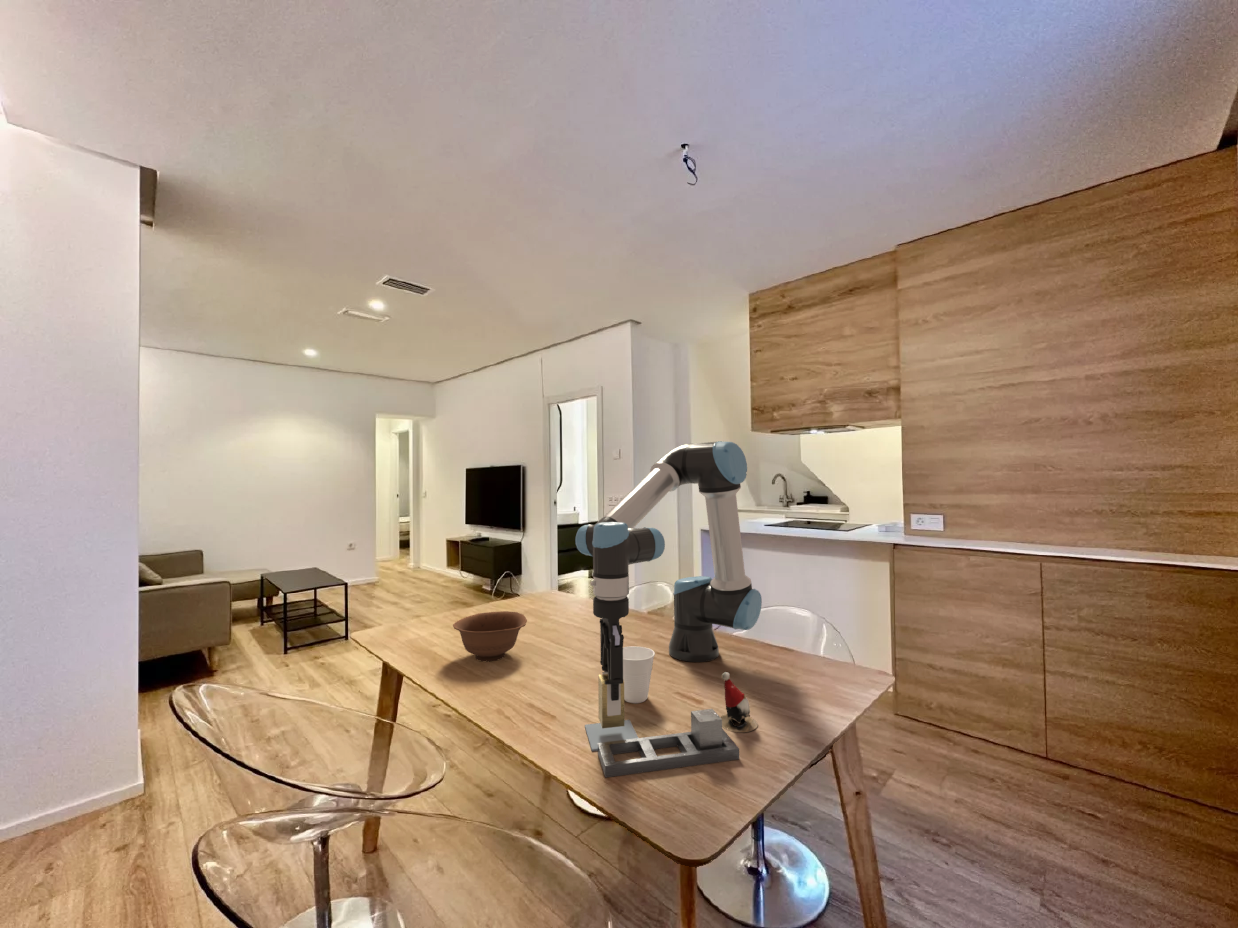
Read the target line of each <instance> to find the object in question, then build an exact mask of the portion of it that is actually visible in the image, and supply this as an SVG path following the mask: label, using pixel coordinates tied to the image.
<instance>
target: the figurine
mask: <svg viewBox="0 0 1238 928" xmlns="http://www.w3.org/2000/svg"><path fill="white" fill-rule="evenodd" d="M721 679H722V680H723V681H724V682H723V683H724V684H723V686H724V701H725V703H724V704H725V710H726V714H722V715H721V716H719V717H720V718H721V719H722V729H723V730H724V729H725V730H727V731H730V732H733V733H740V734H741V733H749V732H752V731H755V730H756V729H757V728H758V725H759V724H758V721H757V720H756V719H755V718H753V717H751V715H750V714H751V710H750V702H749V699H748V698H747V696H746V695H745V693H743V692H742V691H741V690H740V689H739V688H738V687H737V686H736V685H735V684H734V682H733V681H732V680H731V677H730V673H729V672H726V671H725V672H723V673H722V674H721ZM733 720H734V721H736V722H737V723H738V724H740V723H741V721H742V720H743V721H744V723H743V724H740V725H736V724H735V723H734V722H733Z"/></svg>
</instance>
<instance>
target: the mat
mask: <svg viewBox="0 0 1238 928" xmlns="http://www.w3.org/2000/svg"><path fill="white" fill-rule="evenodd" d="M584 729H585V733H586V737H587V739H588V744H589V746H590V749H591V752H598V743H602V742H610V741H619V740H627V739H635V738H639V736H638V734H637V732H636V730H635V728H634V726H633V724H632V722H631V720H630V719H624V726H620V727H611V728H602V726H601V723H600V722H598V723H597V722H596V723H588V724H587V723H586V724H584Z"/></svg>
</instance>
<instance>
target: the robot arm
mask: <svg viewBox="0 0 1238 928" xmlns="http://www.w3.org/2000/svg"><path fill="white" fill-rule="evenodd" d="M747 472H748V464H747V459H746V456H745V454H744V451H743V449H742V448H741V447H740V446H739V444H737V443H735V442H733V441H710V442H709V441H708V442H698V443H697V442H696V443H685V444H683V445H682V444H681V445H680V446H677V447H675V448H674V449H672V450H670V451H668V452H667V453H666V454H664V455H662V457H660V458H659V459H658V460H657V461H656V462H654V464H652V465H651V466H650V469H649V473H648V474H647V475H646V476H645V477H643V479H641V481H639V483H637V484H636V485H635V486H634V487H633V488H632V489H631V490H630V491H629V492H628V493H627V494H626V495H625V496H623V497H622V498H621V500H619V502H617V503H616V504H615V505H614V506H613V507H612V508H611V509H610V510H609V511H608V512H607V513H606V514H605V515H603V517H602V518H601V519H599V520H598V521H597V522H596V523H595V524H592V523H591V524H584V525H582V526H581V527H579V528H578V529H577V532H576V535H575V546H576V549H577V550H578V551H579V552H580V553H581V554H582V555H585V556H590V557H592V565H593V566H592V570H593V571H592V576H593V580H592V581H590V586H592V587H593V591H592V592H593V593H592V594H593V595H594V597H593V599H592V604H593V605H592V614H593V615H594V617H596V618H599V628H600V632H599V633H600V636H599V637H600V661H599V662H600V665H601V670H602V671H601V672H602V673H601V675H603V674H608V681H605V685H607V715H608V716H614V715H621V684H623V647H624V639H625V636H624V634H623V626H622V624H620V619H622V618H625V617H627V616H629V611H630V610H629V609H630V607H629V606H630V604H629V603H630V601H629V599H630V598H629V597H628V595H629V594H630V582H629V580H630V577H629V576H630V574H629V571H630V570H629V567H630V566H629V565H634V564H640V563H644V562H645V563H646V562H649V563H650V562H651V561H653V560H656V559H659V558H660V557H661V556H662V555H663V553H664V551H665V546H666V542H665V537H664V535H663V533H661V531H660V530H659V529H658V528H655V527H641V528H640V527H639V528H638V527H637V528H635V527H636V526H637V525H638V524H639V523H640V522H641V521H642V520H643V519H644V518H645V517H646V516H647V515H648V514H649V512H651V511H652V510H653V508H655V506H656V505H658V503H659V502H660V501H661V500H662V499H663V498H664V497H665V496H666V495H667V494H668V493H669V492H671V493H672V492H674V491H676V490H677V489H678V488H679V487H681V486H683V485H688V484H694V485H695V484H697V485H698V486H697V487H698V492H699V493H700V494H701V496H704V498H705V499H704V500H705V507H706V508H705V509H706V515H707V523H708V531H709V532H708V533H709V541H710V548H711V549H710V550H711V556H712V565H713V572H714V577H713V578H712V577H711V576H707V575H706V576H705V575H703V576H702V575H698V576H688V577H682V578H679V579H677V580H676V581H675V582H674V585H673V618H674V619H673V620H674V623H673V624H674V626H673V630H672V634H671V637H670V640H669V644H668V654H669V655H670V657H672V658H674V659H676V660H679V661H684V662H688V663H689V662H691V663H704V662H710V661H713V660H715V659H717V658H718V657H719V655H720V654H719V649H720V648H719V645H718V642H717V638H716V636H715V632H714V629H713V625H716V626H721V627H726V628H731V629H734V630H741V631H749V630H751V629H752V628H753V627H755V625H756V623H757V622H758V620H759V618H760V614H761V610H762V605H763V604H762V594H761V593H760V591H759V590H758V589H756V588H753V585H752V580H751V578H750V577H749V576H748V575H746V572H745V563H744V554H743V546H742V537H741V535H742V533H741V526H740V518H739V509H738V508H739V507H738V500H737V493H738V492H739V491H740V489H741V487H742V486H741V484H742V483H743V482H745V480H746V478H747V476H748V475H747Z"/></svg>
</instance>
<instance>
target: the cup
mask: <svg viewBox="0 0 1238 928" xmlns="http://www.w3.org/2000/svg"><path fill="white" fill-rule="evenodd" d="M655 655H656V652H655V651H654V650H653V649H652V648H649V647H645V646H638V645H637V646H635V645H634V646H633V645H632V646H631V645H630V646H623V680H624V702H627V703H629V704H630V703H631V704H640V703H641V704H642V703H643V702H646V700H647V699H648V696H649V691H650V683H651V678H652V677H651V676H652V670H653V664H654V657H655Z"/></svg>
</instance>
